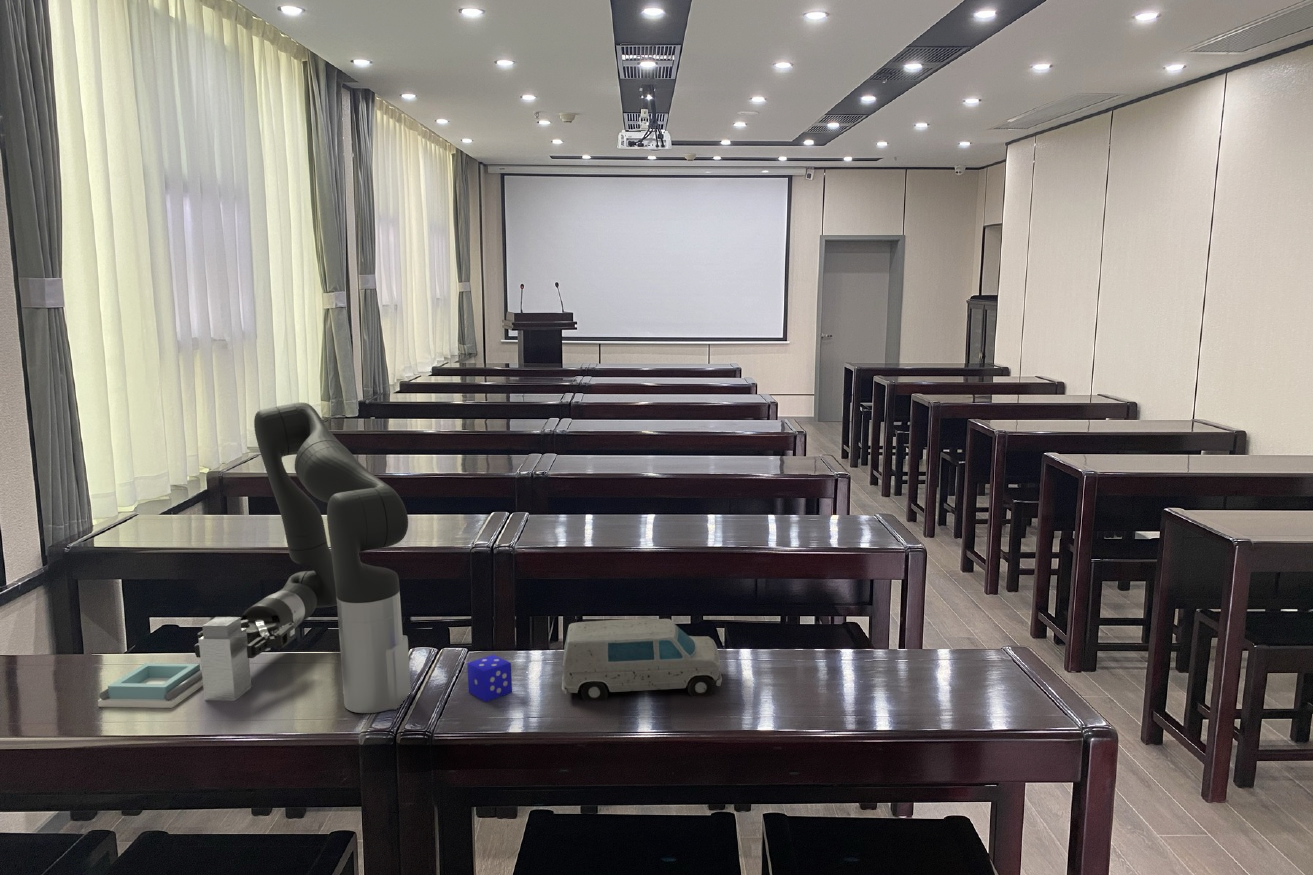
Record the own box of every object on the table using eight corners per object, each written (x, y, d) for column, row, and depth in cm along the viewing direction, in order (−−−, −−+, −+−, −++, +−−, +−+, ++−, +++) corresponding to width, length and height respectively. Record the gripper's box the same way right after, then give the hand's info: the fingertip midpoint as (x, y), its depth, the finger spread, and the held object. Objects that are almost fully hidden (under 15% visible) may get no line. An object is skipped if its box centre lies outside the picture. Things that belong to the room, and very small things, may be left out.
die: (468, 692, 148) (466, 662, 147) (495, 683, 151) (494, 654, 150) (485, 702, 144) (483, 671, 144) (512, 692, 148) (511, 662, 147)
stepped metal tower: (251, 687, 152) (245, 616, 150) (235, 700, 147) (228, 626, 145) (222, 687, 152) (215, 615, 151) (204, 700, 147) (197, 626, 146)
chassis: (211, 679, 156) (209, 661, 155) (171, 707, 145) (170, 689, 144) (143, 678, 157) (141, 660, 156) (98, 706, 146) (96, 688, 145)
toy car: (723, 697, 144) (722, 634, 143) (561, 704, 143) (559, 641, 142) (715, 670, 155) (714, 611, 153) (564, 676, 154) (562, 618, 152)
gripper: (233, 596, 164) (178, 628, 148) (311, 597, 163) (264, 629, 147) (237, 637, 165) (182, 674, 149) (314, 638, 164) (268, 675, 148)
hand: (223, 652), depth 148 cm, fingers open, 8 cm apart
